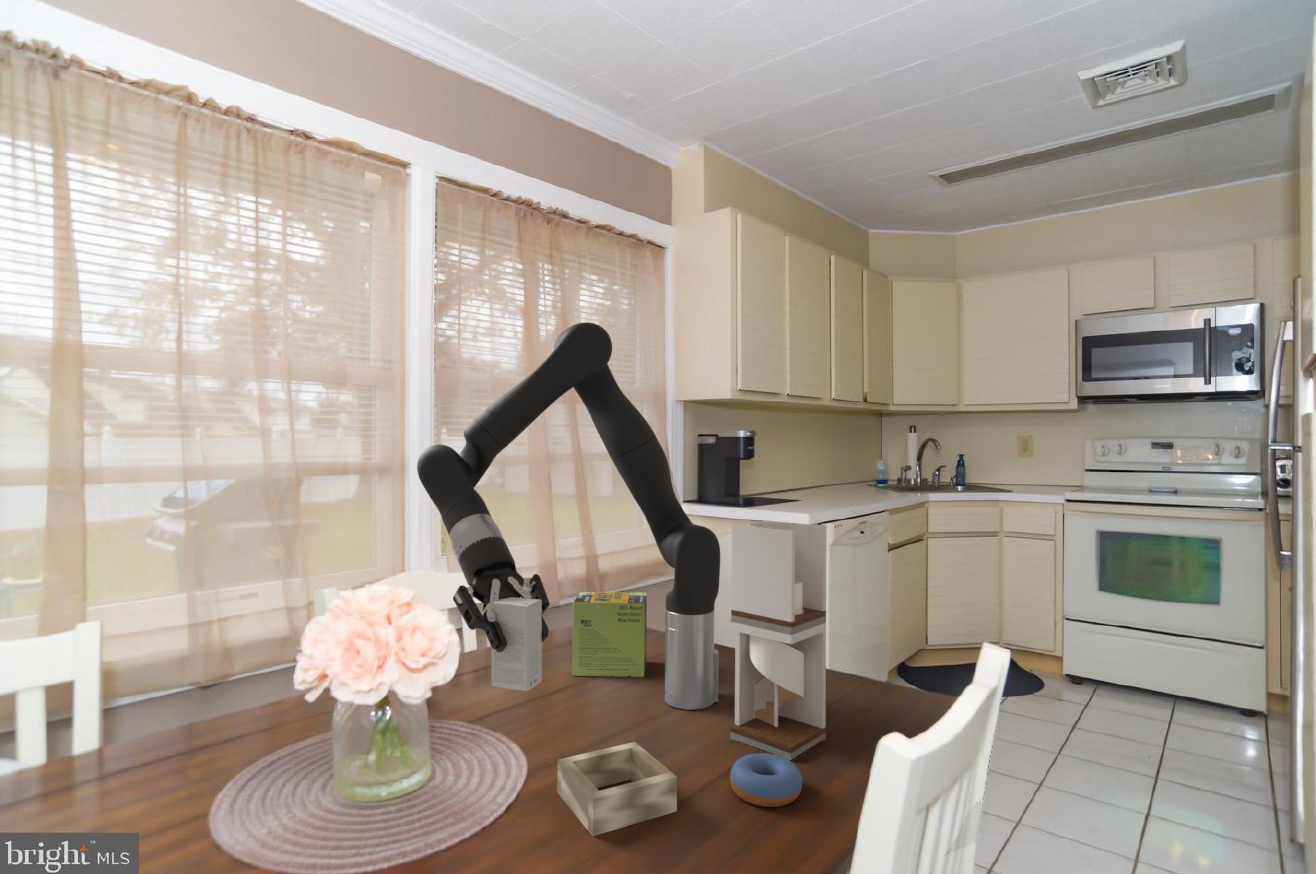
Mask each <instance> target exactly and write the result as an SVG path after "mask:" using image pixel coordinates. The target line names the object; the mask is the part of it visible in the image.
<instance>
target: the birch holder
mask: <svg viewBox="0 0 1316 874" xmlns="http://www.w3.org/2000/svg"><path fill="white" fill-rule="evenodd" d="M556 772H557V775H556V776H557V778H556V779H557V782H556V783H557V785H556V786H557V788H556V790H557V792H556V793H557V795H558V796H560V798H561V799H562V800H563V802H564V803H565V804H566V806H568V808H569V809H570V810H571V811H572V813H573V814H574V815H575V817H576V818H577V819H578V820H579V821H580V822H581V824H582V825H583V826H584V828H585V829H586V830H587V832H589V834H590V835H591V837H595V836H596V837H597V836H599V835H602V834H606V833H608V832H612V831H617V830H619V829H622V828H626V827H630V826H632V825H635V824H639V823H643V822H646V821H649V820H652V819H657V818H659V817H662V816H665V815H669V814H672V813H676V812H677V809H678V776H677V775H675V773H673V772H672V771H671V770H669V769H668V768H667V767H666V766H665V765H664V764H663V763H661V762H660V761H659V760H658V759H656V758H655V757H654V756H653V755H651V754H650V753H649V752H648V751H646V750H645V748H643V747H642V746H640V745H639V744H638V743H637V742H636V741H632V742H629V743H623V744H620V745H616V746H611V747H606V748H602V749H599V750H594V751H590V752H585V753H582V754H576V755H572V756H568V757H563V758H559V759H557V771H556ZM626 781H631V782H628V783H625V784H621V785H617V786H614V787H609V788H606V789H602V790H599V788H604V787H607V786H610V785H614V784H618V783H622V782H626Z"/></svg>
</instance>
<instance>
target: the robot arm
mask: <svg viewBox="0 0 1316 874" xmlns="http://www.w3.org/2000/svg"><path fill="white" fill-rule="evenodd" d="M553 346H554V347H553V350H552V352H551V353H550V354H549V355H548V357H546V359H545V360H543V362H542V363H541V364H540V365H539V366H538V367H536V369H535V370H533V371H532V372H531V373H530V374H529V375H528V376H527V377H525V378H524V379H523V380H521V381H520V382H519V383H517V384H516V385H514V386H513V387H512V388H511V389H509V390H507V392H505V393H503V394H502V395H501V396H500V397H498V398H497V399H496V400H495V401H494V402H492V403H491V404H490V405H489V406H487V407H486V409H483V411H482V412H481V413H480V414H479V415H478V416H476V417H475V418H474V419H473V420H472V421H471V422H469V423H468V425H467V426H466V427H465V428H464V431H463V437H464V439H465V446H463V448H462V450H461V451H460V452H459V453H458V452H457V451H456V450H455V449H454V448H452V447H450V446H448V445H445V444H434V445H431V446H428V447H427V448H425V449H424V450H423V451H422V452H421V453H420V456H419V457H418V460H417V465H416V466H417V467H416V470H417V475H418V478H419V481H420V483H421V485H422V486H423V488H424V490H425V492H426V493H427V495H428V497H429V498H430V499H431V501H432V502H433V505H434V506H435V508H436V509H437V510H438V512H439V514H440V516H441V519H442V522H443V525H444V527H445V529H446V532H447V533H448V536H449V539H450V542H451V546H452V550H453V552H454V556H455V557H456V559H457V561H458V562H457V563H458V565H459V566H460V569H461V572H462V574H463V576H464V579H465V581H466V583H467V585H468V586H467V587H466V586H465V585H459V587H458V588H457V590H456V592H455V593H454V594H453V597H452V601H453V602H454V604H455V605H456V607H457V610H458V611H459V613H460V614H461V616H462V618H463V620H464V622H465V624H466V625H467V627H468V629H469V630H472V631H473V630H476V629H479V630H482V631H484V633H485V635H486V637H487V640H488V643H489V645H490V646H491V649H492V648H493V649H496V651H497V652H498V653H499V652H503V651H504V649H505V648H506V646H507V641H506V639H505V636H504V634H503V632H502V629H501V627H500V625H499V623H498V622H495V619H496V612H495V610H494V609H493V602H497V601H498V600H500V599H505V598H511V597H515V598H526V599H540V600H542V643H543V642H545V641H546V639H547V638H548V636H549V633H550V631H549V627H548V625H547V623H546V621H545V618H544V617H543V615H544V614H545V612H546V610H547V609H548V608H549V607H550V604H551V603H550V600H549V597H548V596H547V592H546V590H545V586H544V585H543V581H542V579H541V576H540V575H539V574H537V573H534V574H533V575H532V577H523V576H522V575H521V574H520V573H519V572H518V571H517V567H516V561H515V559H514V557H513V555H512V553H511V550H510V549H509V546H508V545H507V542H506V540H505V538H504V536H503V535H502V532H501V530H500V529H499V526H498V525H497V523H496V522H495V520H494V519H493V517H492V515H491V513H490V511H489V508H488V507H487V505H486V503H485V500H484V499H483V497H482V496H481V495H480V493H478V491H477V490H476V489H475V487H476V486H477V485H478V483H479V482H480V481H481V479H482V478H483V477H484V475H485V473H486V472H487V471H488V469H489V468H490V466H491V465H492V463H493V462H494V460H495V458H496V456H498V455H499V454H500V453H501V452H502V451H503V450H505V448H506V447H508V446H509V445H510V444H511V443H512V442H514V440H516V439H517V438H518V437H519V435H521V434H522V433H523V432H524V431H525V430H526V429H527V428H528V427H529V426H530V425H531V424H532V423H533V422H534V421H536V420H537V418H538V417H540V416H541V415H542V414H543V413H544V412H545V411H546V410H547V409H548V408H549V407H550V406H552V405H553V404H554V403H555V402H556V401H558V399H560V398H561V397H562V396H563V395H564V394H566V393H567V392H568V391H570V390H571V389H574V391H575V393H577V395H578V397H579V398H580V400H581V401H582V403H583V404H584V406H585V407H586V410H587V412H588V414H589V415H590V418H591V421H592V423H593V425H594V428H595V429H596V432H597V433H598V435H599V437H600V439H601V441H602V443H603V445H604V447H605V449H606V451H607V453H608V455H609V457H610V459H611V461H612V463H613V465H614V467H615V468H616V470H617V471H618V473H619V475H620V476H621V478H622V480H623V481H624V483H625V486H626V487H627V488H628V490H629V493H630V494H631V496H632V497H633V499H634V500H635V502H636V504H637V506H638V507H639V509H640V510H641V512H642V514H643V515H644V517H645V519H646V521H647V523H648V526H649V528H650V530H651V534H652V536H653V538H654V541H655V543H656V546H657V548H658V550H659V553H660V554H661V557H662V559H663V560H664V561H665V563H667V565H669V567H671V568H673V570H674V578H673V587H672V590H671V591H669V592H668V593H667V594H666V596H665V620H664V621H665V622H664V623H665V632H664V633H665V638H664V639H665V644H664V646H665V648H664V658H665V659H664V662H665V663H664V702H665V703H666V704H667V705H669V706H670V707H673V708H676V709H680V710H687V711H688V710H701V709H706V708H709V707H710V706H712V705H713V704H714V703H718V702H719V662H720V660H719V657H720V656H719V651H718V649H716V648H715V608H716V607H715V604H716V600H717V597H718V595H719V589H720V575H721V572H720V571H721V570H720V569H721V546H720V543H719V539H718V537H717V535H716V534H715V532H714V531H712V530H711V529H710V528H708V527H706V526H703V525H699V524H695V523H694V522H692V521H691V519H690V518H689V517H688V515H687V513H686V512H685V511H684V508H683V507H682V505H681V504H680V502H679V500H678V498H677V496H676V494H675V491H674V490H675V489H674V488H673V481H672V475H671V469H670V465H669V461H668V458H667V456H666V453H665V451H664V448H663V447H662V445H661V443H660V442H659V441H660V440H659V439H658V438H657V436H656V434H655V432H654V430H653V429H652V426H651V425H650V424H649V422H648V421H647V420H646V418H645V417H644V416H643V415H642V413H641V412H640V411H639V410H638V409H637V407H636V406H635V405H634V404H633V402H631V401H630V400H629V399H628V397H627V396H626V395H625V393H624V392H623V390H621V388H620V386H619V384H618V383H617V381H616V379H615V377H614V375H613V373H612V371H611V369H610V366H609V364H608V363H609V362H610V359H611V358H612V354H613V353H612V352H613V342H612V339H611V336H610V334H609V333H608V331H607V330H605V328H603V327H602V326H601V325H600V324H599V325H598V324H596V323H594V322H579V323H575V324H573V325H571V326H569V327H568V328H565V330H563V331H561V333H559V335H558V336H557V337H556V339H555V341H554V344H553ZM474 599H476V601H479V602H480V603H481V611H480V609H479V606H478V605H477V604H476V602H475V600H474Z"/></svg>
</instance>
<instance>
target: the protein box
mask: <svg viewBox="0 0 1316 874" xmlns="http://www.w3.org/2000/svg"><path fill="white" fill-rule="evenodd" d="M647 595H648V593H647V592H620V591H619V592H617V591H605V592H603V591H600V592H598V591H594V592H593V591H585V592H584V591H580V592H579V593H578V595H577V597H576V598H575V599H574V601H573V603H572V643H571V644H572V650H571V651H572V652H571V658H572V659H571V676H573V677H575V676H576V677H611V676H612V677H613V678H614V677H615V678H616V677H618V678H620V677H621V678H625V677H627V678H644V677H645V672H646V665H647V637H648V636H647V628H648V627H647V626H648V625H647V624H648V623H647V621H648V620H647V612H648V611H647V608H648V607H647V603H648V602H647ZM628 676H630V677H628ZM612 677H611V678H612Z"/></svg>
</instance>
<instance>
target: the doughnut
mask: <svg viewBox="0 0 1316 874" xmlns="http://www.w3.org/2000/svg"><path fill="white" fill-rule="evenodd" d="M729 775H730V776H729V780H730V787H731V789H732V791H733V792H734V793H735V795H736V796H738V798H740V799H741V800H743V801H745V802H747V803H749V804H752V805H755V806H759V807H764V808H765V807H766V808H769V807H770V808H776V807H783V806H786V805H789V804H791V803H793V802H794V801H795V800H796V799H797V798H798V797H799V795H801V791H802V789H803V788H802V787H803V776H802V774H801V771H800V768H799V767H797V765H795V764H794V763H793V762H792V761H789V760H787V759H786V758H783V757H780V756H777V755H772V754H770V753H764V752H763V753H751V754H747V755H744V756H742V757H740V758H738V759H737V760H736V761H735V762H734V764H733V765H732V767H731V769H730V773H729Z"/></svg>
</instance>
